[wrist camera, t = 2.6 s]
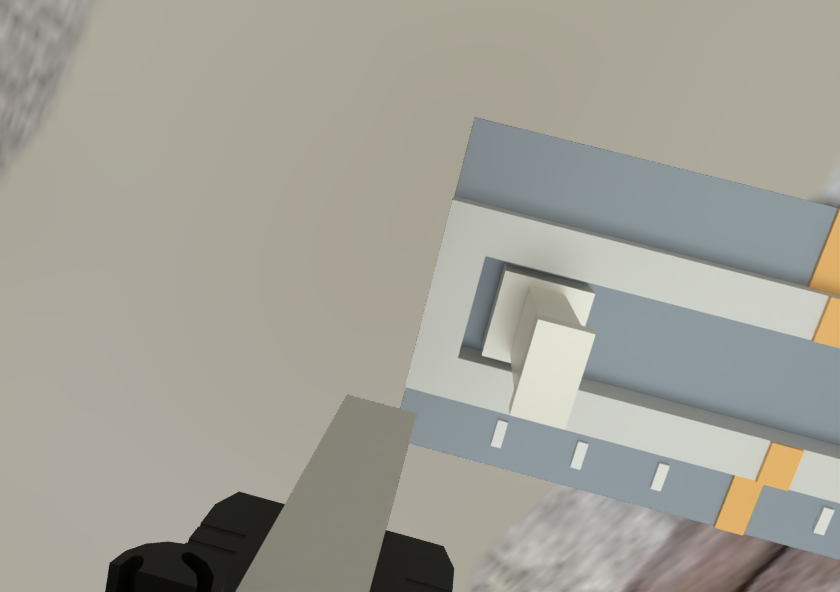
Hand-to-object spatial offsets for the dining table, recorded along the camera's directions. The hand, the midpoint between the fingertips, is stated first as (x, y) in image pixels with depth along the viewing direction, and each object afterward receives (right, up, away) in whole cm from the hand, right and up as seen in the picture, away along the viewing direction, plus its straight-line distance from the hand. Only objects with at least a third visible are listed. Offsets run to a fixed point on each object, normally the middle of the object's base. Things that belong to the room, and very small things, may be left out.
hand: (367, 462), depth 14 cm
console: (+13, +1, +19) cm, 23 cm away
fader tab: (+6, +3, +17) cm, 19 cm away
